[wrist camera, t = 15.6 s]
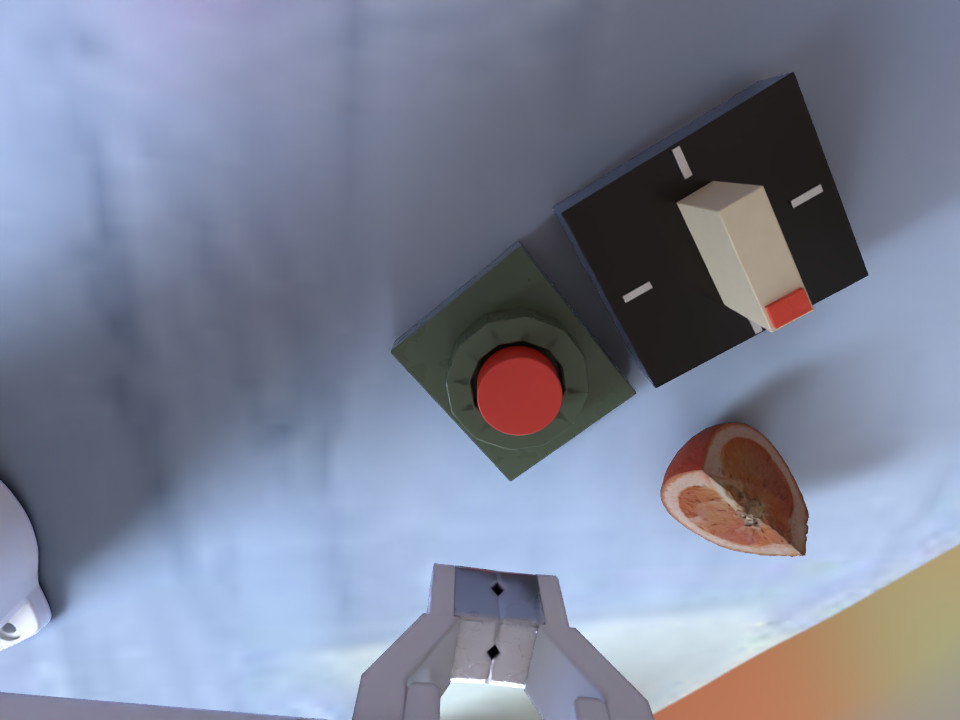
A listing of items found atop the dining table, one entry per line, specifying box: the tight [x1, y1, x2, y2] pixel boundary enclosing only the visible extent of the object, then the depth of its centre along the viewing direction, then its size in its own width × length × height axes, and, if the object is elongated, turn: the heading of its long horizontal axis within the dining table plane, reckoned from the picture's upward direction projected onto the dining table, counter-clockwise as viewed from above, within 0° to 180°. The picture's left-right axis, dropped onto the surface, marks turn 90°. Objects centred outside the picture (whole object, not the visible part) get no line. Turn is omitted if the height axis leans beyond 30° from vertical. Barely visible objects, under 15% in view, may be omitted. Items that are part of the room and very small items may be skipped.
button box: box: [391, 242, 636, 481], centre depth 29 cm, size 10×8×4 cm
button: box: [477, 346, 563, 435], centre depth 27 cm, size 4×4×2 cm
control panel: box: [553, 72, 868, 388], centre depth 27 cm, size 11×10×3 cm
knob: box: [677, 181, 814, 332], centre depth 23 cm, size 6×2×5 cm, turn 31°
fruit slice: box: [661, 422, 809, 557], centre depth 31 cm, size 8×7×5 cm
